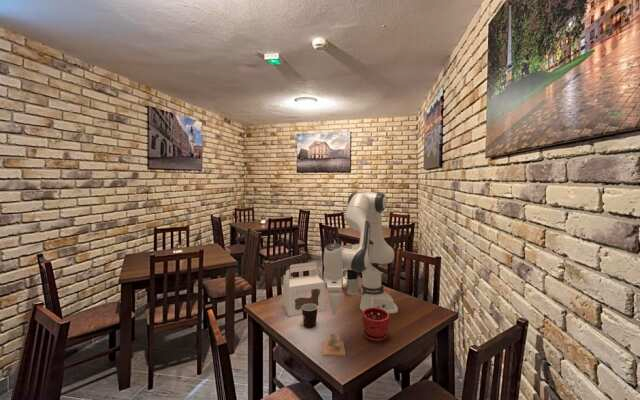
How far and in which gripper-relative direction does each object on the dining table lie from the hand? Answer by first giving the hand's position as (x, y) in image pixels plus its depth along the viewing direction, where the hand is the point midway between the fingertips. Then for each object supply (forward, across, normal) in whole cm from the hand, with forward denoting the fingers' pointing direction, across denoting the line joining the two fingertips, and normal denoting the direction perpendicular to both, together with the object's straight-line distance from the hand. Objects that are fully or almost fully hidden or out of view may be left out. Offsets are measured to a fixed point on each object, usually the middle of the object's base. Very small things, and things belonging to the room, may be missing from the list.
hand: (333, 309), depth 129 cm
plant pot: (+19, -10, +22) cm, 30 cm away
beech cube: (+18, 0, 0) cm, 18 cm away
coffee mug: (+19, -20, -12) cm, 30 cm away
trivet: (+19, 0, 0) cm, 19 cm away
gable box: (+19, -41, -16) cm, 48 cm away
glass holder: (+19, -65, +14) cm, 69 cm away
